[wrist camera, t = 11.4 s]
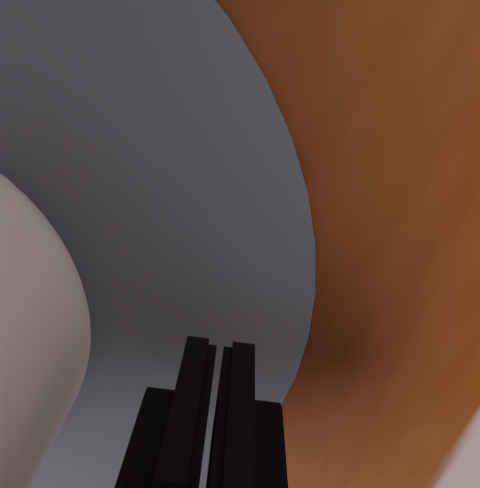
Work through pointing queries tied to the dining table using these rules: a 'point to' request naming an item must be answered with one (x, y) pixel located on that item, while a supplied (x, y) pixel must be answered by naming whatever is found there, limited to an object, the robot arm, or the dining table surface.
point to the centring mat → (156, 203)
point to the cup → (36, 336)
